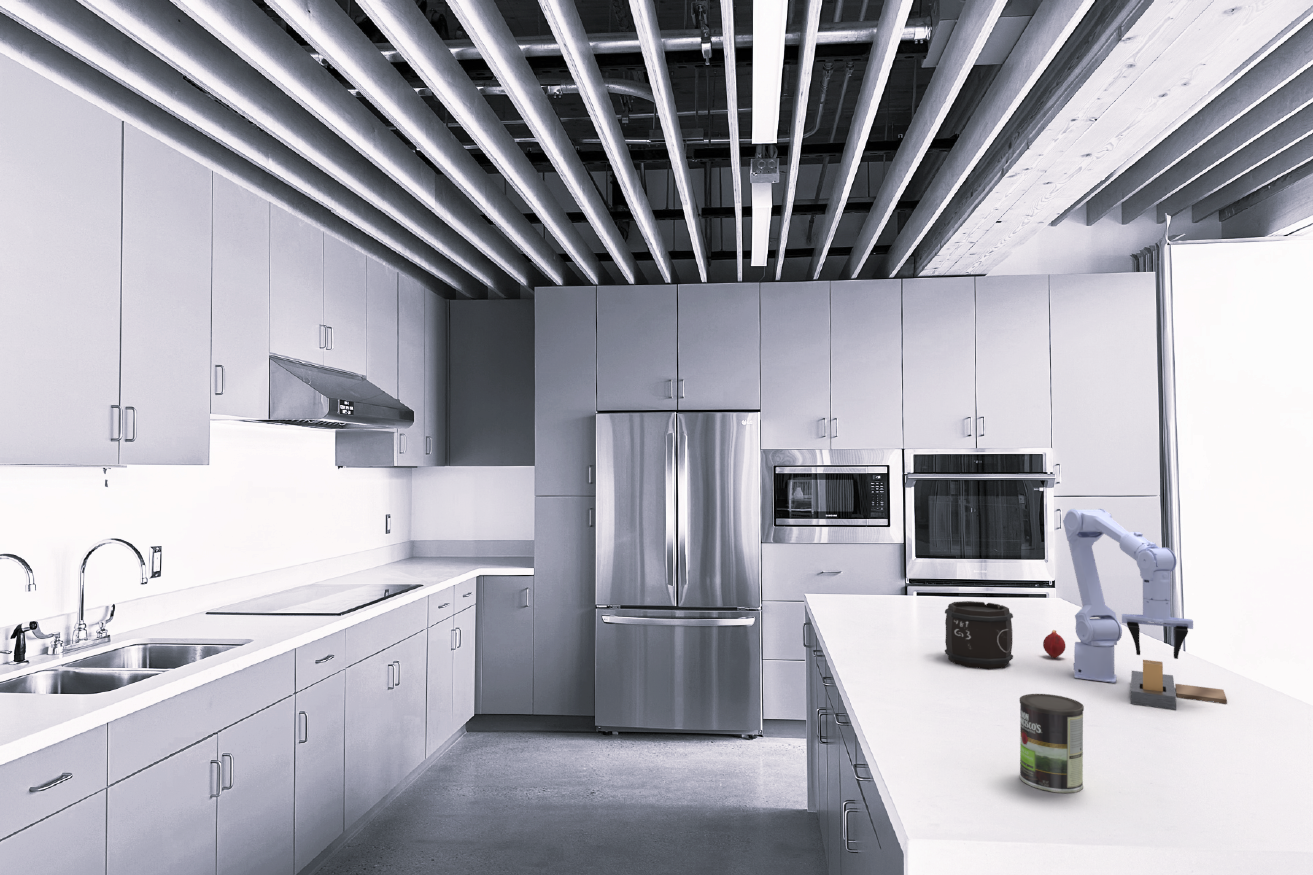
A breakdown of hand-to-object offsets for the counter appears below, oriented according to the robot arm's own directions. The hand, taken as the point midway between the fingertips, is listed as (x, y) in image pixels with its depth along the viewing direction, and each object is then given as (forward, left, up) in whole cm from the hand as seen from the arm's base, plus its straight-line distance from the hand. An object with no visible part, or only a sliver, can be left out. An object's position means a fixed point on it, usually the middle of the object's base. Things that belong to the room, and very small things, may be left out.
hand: (1156, 656), depth 199 cm
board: (+9, +10, -10) cm, 17 cm away
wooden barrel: (-43, +17, -11) cm, 47 cm away
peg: (-1, -1, -10) cm, 10 cm away
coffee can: (-17, -69, -11) cm, 72 cm away
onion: (-25, +33, -11) cm, 43 cm away
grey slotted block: (-1, +4, -10) cm, 11 cm away
